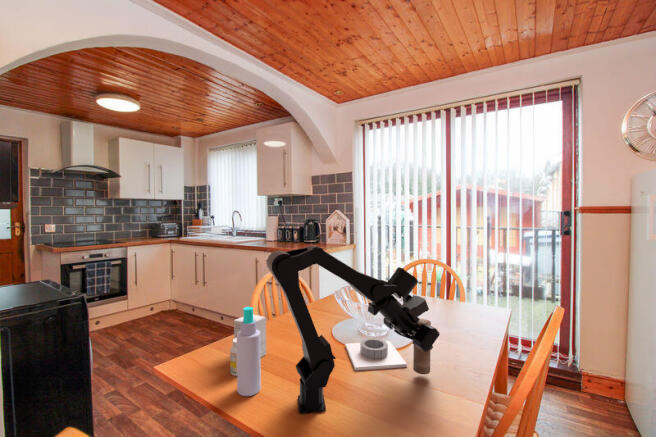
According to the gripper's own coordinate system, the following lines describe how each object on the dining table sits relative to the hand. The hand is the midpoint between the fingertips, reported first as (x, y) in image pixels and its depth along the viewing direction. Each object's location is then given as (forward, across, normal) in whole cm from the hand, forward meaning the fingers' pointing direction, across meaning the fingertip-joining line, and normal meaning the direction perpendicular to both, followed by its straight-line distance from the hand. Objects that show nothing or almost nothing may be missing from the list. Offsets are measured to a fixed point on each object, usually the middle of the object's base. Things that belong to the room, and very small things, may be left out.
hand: (425, 344), depth 87 cm
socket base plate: (+1, +16, +12) cm, 20 cm away
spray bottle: (-27, +12, +41) cm, 50 cm away
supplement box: (-25, +30, +39) cm, 55 cm away
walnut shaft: (+4, 0, +6) cm, 7 cm away
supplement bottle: (-28, +22, +42) cm, 55 cm away
